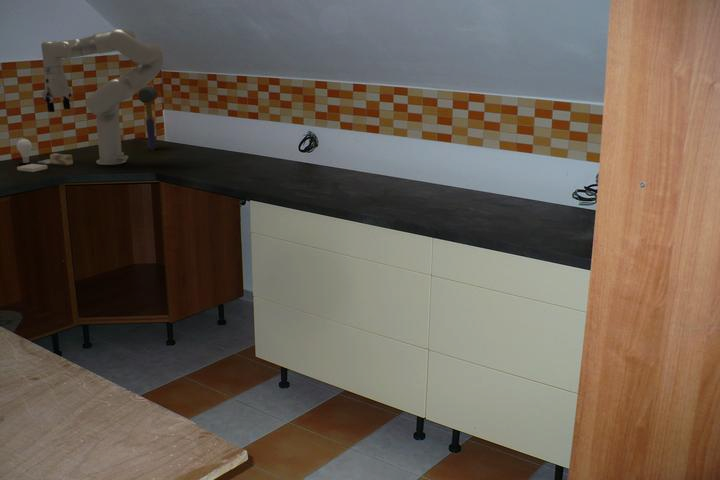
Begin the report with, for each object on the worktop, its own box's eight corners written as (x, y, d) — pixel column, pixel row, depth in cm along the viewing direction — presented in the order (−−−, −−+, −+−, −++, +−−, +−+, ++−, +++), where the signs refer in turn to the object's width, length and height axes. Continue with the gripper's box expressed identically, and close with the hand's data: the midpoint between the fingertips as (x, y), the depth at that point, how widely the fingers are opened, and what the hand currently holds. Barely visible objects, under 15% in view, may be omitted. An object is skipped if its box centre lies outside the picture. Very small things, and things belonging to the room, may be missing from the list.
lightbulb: (27, 161, 364) (24, 137, 361) (37, 162, 361) (34, 138, 358) (15, 163, 359) (12, 139, 356) (24, 165, 356) (21, 140, 353)
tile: (47, 165, 349) (31, 163, 352) (32, 168, 342) (16, 167, 345) (47, 169, 349) (32, 167, 353) (33, 173, 342) (17, 171, 346)
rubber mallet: (147, 147, 399) (142, 85, 391) (162, 147, 399) (158, 85, 391) (141, 151, 387) (136, 88, 379) (157, 151, 387) (152, 87, 379)
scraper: (75, 163, 360) (74, 154, 359) (65, 165, 355) (64, 156, 354) (47, 160, 367) (46, 152, 366) (37, 163, 361) (36, 154, 360)
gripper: (46, 72, 342) (51, 113, 347) (74, 69, 357) (79, 108, 362) (32, 72, 345) (38, 112, 350) (61, 69, 360) (66, 107, 365)
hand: (59, 110), depth 356 cm, fingers open, 9 cm apart
